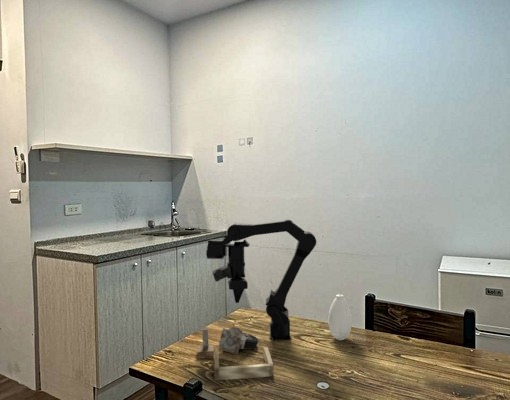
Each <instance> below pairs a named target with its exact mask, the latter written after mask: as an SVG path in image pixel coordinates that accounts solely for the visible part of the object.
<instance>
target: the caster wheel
mask: <svg viewBox="0 0 510 400" xmlns="http://www.w3.org/2000/svg"><path fill="white" fill-rule="evenodd" d="M221 330H222V331H221V335H220V338H219V343H218V347H217V348H218V349H217V350H221V351H225V352H227V353H230V354H233V355H239V350H240V349H241V350H254V349H255V350H256V348H257V346H258V341H259V338H258V337H256V335H252V334H250V333H246V332H243V331H242V330H241V329H240V328H239V327H231V328H229V329H227V328H224V327H223V328H222V329H221Z"/></svg>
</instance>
